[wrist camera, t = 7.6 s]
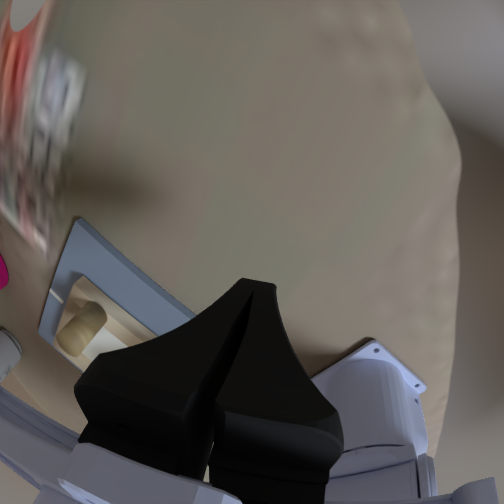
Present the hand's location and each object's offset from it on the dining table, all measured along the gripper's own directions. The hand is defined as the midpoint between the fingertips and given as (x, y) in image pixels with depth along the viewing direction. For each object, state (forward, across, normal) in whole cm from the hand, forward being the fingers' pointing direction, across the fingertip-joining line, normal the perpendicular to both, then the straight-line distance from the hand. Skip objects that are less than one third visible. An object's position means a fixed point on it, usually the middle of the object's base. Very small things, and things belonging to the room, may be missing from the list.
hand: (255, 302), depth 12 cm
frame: (+9, +13, +17) cm, 23 cm away
